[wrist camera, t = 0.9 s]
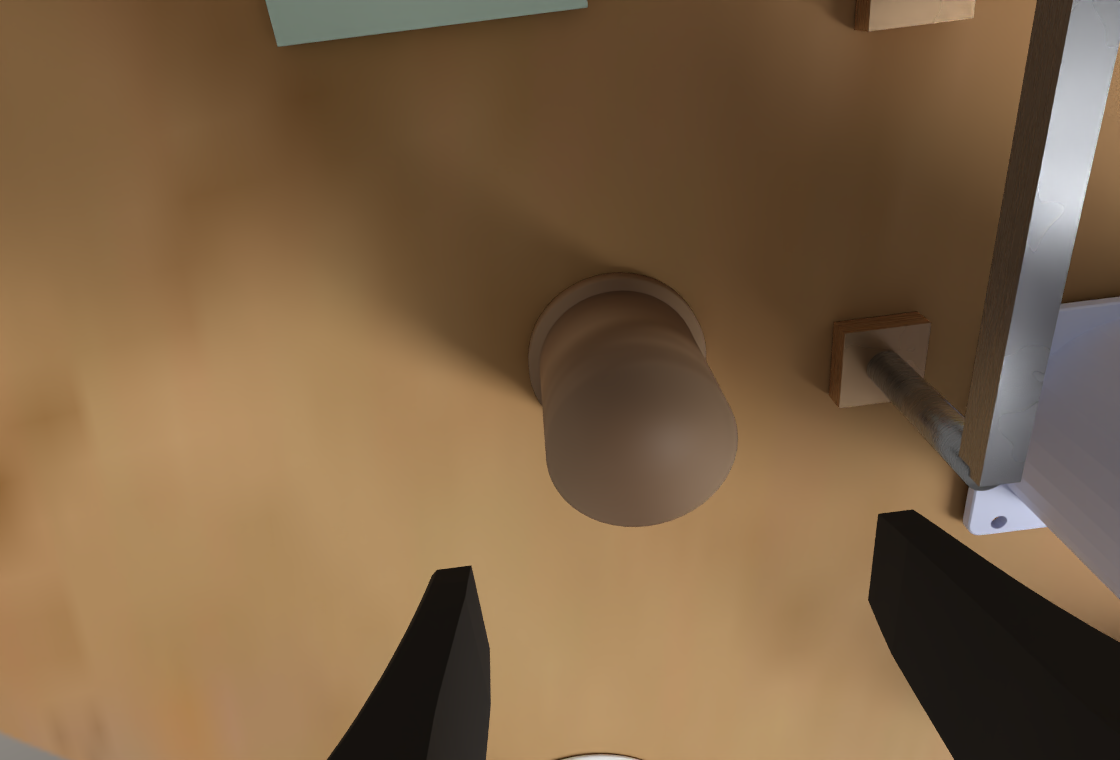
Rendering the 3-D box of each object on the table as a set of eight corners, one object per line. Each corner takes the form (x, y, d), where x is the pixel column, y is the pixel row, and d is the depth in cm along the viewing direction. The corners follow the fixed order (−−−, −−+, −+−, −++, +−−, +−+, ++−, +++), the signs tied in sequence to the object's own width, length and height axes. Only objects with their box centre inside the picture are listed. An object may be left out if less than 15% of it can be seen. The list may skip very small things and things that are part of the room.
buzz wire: (1040, -657, 13) (1473, -1187, 7) (908, 384, 22) (1043, 521, 17) (610, -602, 13) (690, -1085, 7) (663, 415, 22) (715, 562, 17)
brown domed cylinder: (699, 261, 20) (752, 338, 16) (703, 417, 22) (749, 522, 18) (517, 284, 20) (518, 367, 16) (539, 438, 22) (546, 548, 18)
